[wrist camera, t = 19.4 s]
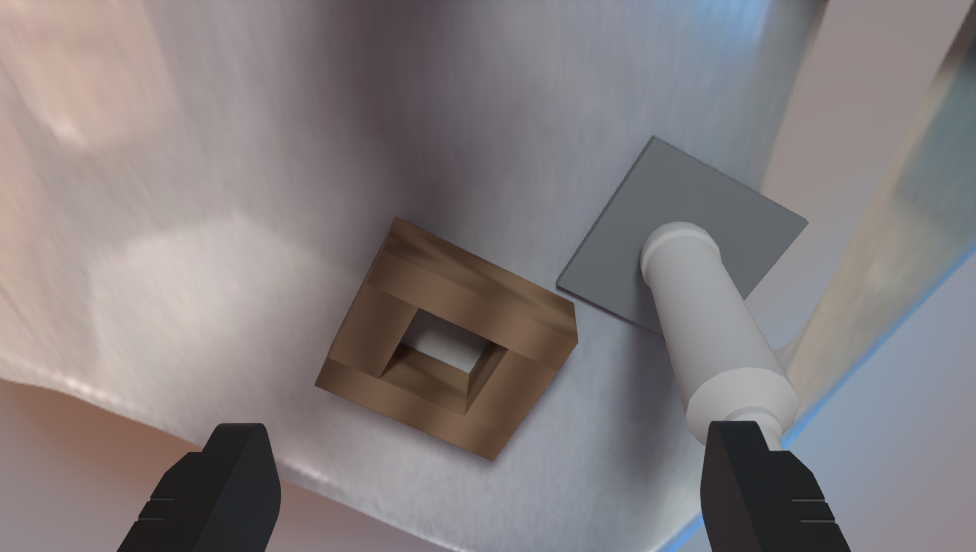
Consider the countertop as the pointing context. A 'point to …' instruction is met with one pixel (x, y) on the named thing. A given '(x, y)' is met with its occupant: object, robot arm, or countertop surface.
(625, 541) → the countertop surface
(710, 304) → the bottle
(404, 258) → the walnut holder
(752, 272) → the slate mat
